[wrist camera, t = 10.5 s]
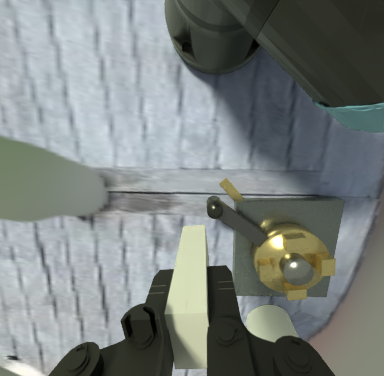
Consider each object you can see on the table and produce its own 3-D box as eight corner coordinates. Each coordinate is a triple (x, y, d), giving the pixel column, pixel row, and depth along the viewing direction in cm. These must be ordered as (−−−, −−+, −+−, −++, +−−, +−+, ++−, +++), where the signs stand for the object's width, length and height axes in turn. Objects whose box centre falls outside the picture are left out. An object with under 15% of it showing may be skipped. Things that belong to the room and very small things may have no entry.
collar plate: (219, 178, 34) (220, 180, 32) (340, 175, 33) (349, 177, 31) (218, 287, 40) (219, 295, 38) (320, 288, 39) (326, 296, 37)
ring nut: (187, 223, 34) (185, 239, 29) (230, 170, 31) (236, 177, 26) (286, 291, 37) (299, 316, 32) (333, 248, 34) (357, 268, 29)
